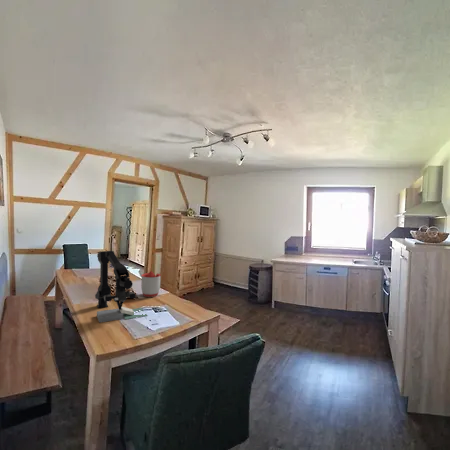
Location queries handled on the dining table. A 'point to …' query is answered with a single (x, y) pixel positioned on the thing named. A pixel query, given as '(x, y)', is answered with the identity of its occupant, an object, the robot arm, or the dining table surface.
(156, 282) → the citrus juicer
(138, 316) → the mat
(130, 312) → the tile
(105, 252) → the robot arm
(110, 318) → the plate
